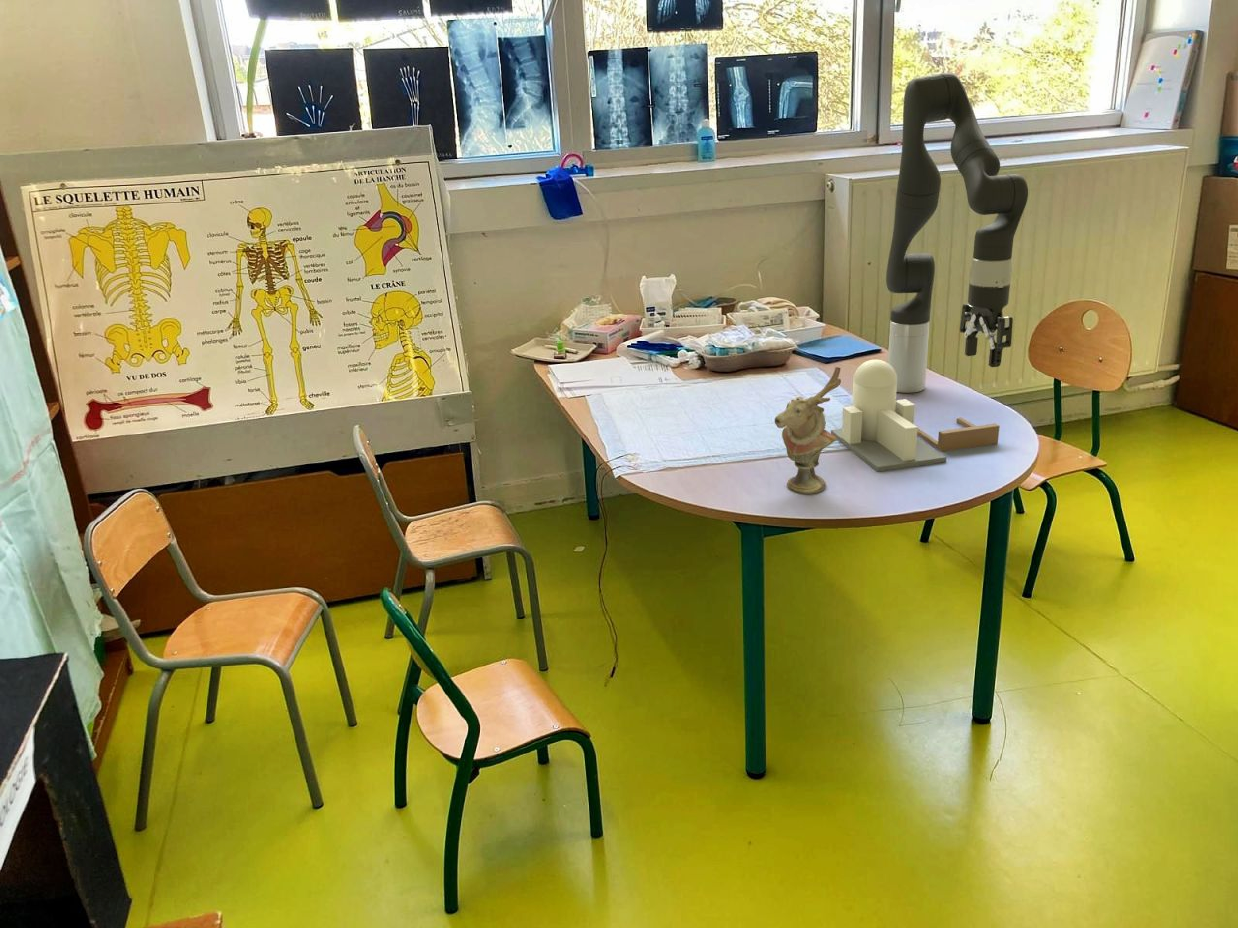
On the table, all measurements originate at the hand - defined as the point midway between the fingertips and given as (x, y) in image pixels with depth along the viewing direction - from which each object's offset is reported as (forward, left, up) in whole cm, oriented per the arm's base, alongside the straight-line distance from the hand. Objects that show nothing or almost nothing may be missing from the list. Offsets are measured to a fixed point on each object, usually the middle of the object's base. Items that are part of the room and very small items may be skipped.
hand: (982, 360), depth 188 cm
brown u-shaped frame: (-7, -1, -19) cm, 20 cm away
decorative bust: (+8, -42, -19) cm, 47 cm away
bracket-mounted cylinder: (-6, -17, -19) cm, 26 cm away
